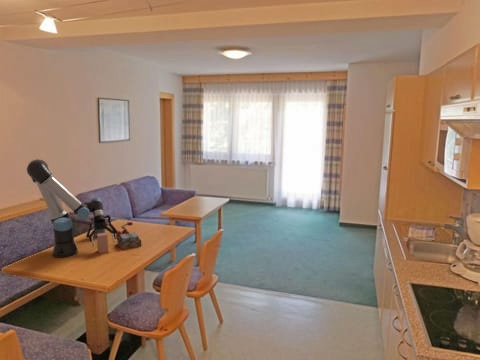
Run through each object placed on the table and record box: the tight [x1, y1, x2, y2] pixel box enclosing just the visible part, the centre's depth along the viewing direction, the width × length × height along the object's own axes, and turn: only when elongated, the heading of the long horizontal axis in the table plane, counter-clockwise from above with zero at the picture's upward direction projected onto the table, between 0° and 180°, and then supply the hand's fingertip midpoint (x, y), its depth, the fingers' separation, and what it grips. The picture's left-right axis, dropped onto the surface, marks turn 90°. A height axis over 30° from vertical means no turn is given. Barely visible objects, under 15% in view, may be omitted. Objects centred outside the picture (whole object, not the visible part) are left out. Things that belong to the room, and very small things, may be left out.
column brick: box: [96, 232, 109, 254], centre depth 247 cm, size 6×6×12 cm
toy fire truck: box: [115, 221, 134, 238], centre depth 283 cm, size 3×14×10 cm, turn 143°
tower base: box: [116, 231, 142, 250], centre depth 260 cm, size 14×14×7 cm
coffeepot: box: [89, 214, 111, 238], centre depth 283 cm, size 15×9×18 cm, turn 112°
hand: (103, 243), depth 246 cm, fingers open, 13 cm apart
